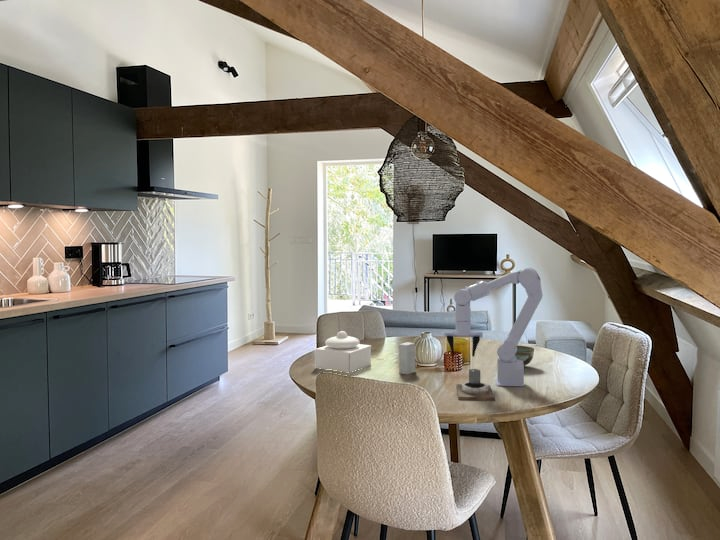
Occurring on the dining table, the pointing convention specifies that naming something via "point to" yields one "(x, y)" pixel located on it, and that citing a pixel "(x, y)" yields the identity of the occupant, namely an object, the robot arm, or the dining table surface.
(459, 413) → the dining table surface
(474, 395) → the collar board
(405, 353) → the skincare box
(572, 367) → the dining table surface
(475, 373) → the cylinder
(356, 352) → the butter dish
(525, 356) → the bowl
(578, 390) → the dining table surface
